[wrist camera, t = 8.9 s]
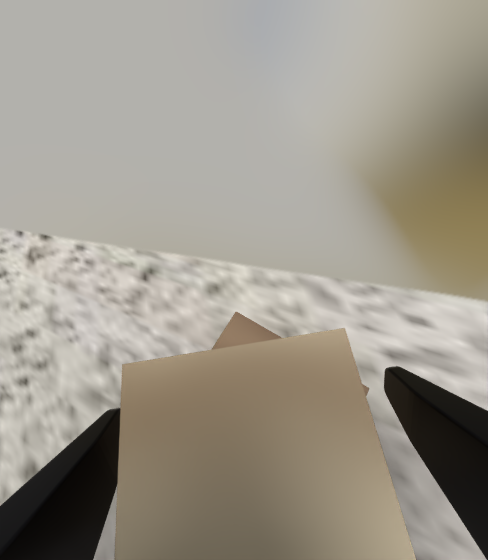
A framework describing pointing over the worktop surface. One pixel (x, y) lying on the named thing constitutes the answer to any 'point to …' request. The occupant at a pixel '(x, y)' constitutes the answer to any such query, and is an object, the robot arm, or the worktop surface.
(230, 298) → the worktop surface
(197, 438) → the ash block
